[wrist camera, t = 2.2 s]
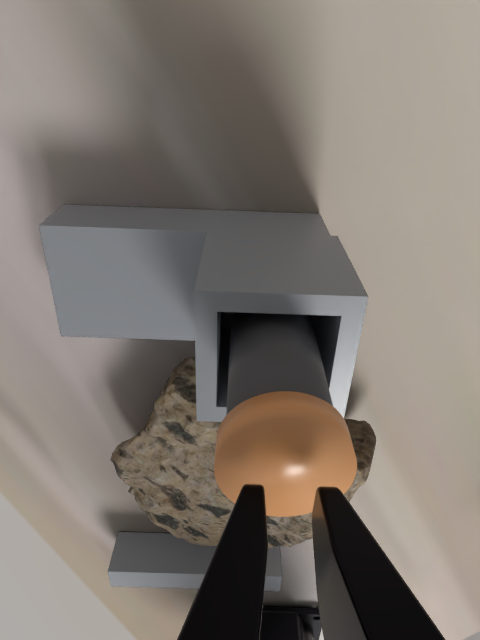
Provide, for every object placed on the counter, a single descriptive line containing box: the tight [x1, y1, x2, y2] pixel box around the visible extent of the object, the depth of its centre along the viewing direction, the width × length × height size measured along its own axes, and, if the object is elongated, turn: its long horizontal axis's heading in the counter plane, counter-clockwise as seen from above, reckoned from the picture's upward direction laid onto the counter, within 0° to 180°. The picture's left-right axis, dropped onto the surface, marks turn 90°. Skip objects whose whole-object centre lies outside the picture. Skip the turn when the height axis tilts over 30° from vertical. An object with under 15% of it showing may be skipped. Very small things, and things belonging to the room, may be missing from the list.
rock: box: [111, 358, 376, 549], centre depth 22 cm, size 11×12×4 cm
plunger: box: [214, 312, 357, 517], centre depth 12 cm, size 3×3×6 cm
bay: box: [39, 204, 368, 591], centre depth 20 cm, size 22×10×7 cm, turn 178°
